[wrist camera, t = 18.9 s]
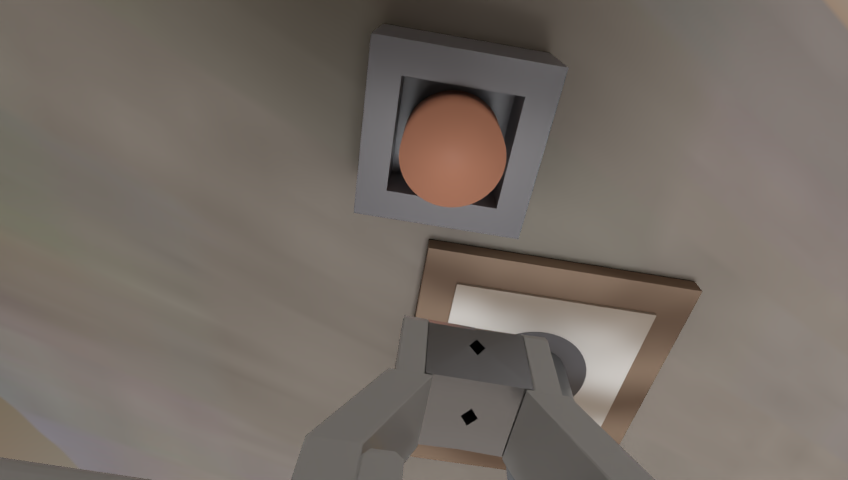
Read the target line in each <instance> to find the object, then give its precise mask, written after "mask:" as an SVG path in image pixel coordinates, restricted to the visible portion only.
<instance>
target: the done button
mask: <svg viewBox="0 0 848 480" xmlns="http://www.w3.org/2000/svg"><path fill="white" fill-rule="evenodd" d="M506 155H507V154H506V146H505V142H504V138H503V135H502V132H501V129H500V126H499V123H498V121H497V118H496V116H495V114H494V112H493V111H492V109H491V108H490V107H489V106H488V105H487V104H486V103H485V102H484V101H483V100H481V99H480V98H479V97H477V96H475V95H473V94H470V93H468V92H464V91H458V90H447V91H441V92H438V93H435V94H433V95H431V96H429V97H427V98H425V99H424V100H423V101H421V102H420V103H419V104H418V105H417V106H416V107H415V108H414V110H413V111H412V113H411V114H410V116H409V118H408V120H407V123H406V126H405V129H404V133H403V137H402V140H401V144H400V149H399V164H400V169H401V172H402V175H403V177H404V179H405V181H406V183H407V184H408V186H409V187H410V188H411V190H412V191H413V192H414V193H415V194H417V195H418V196H419V197H420V198H422V199H423V200H425V201H427V202H429V203H432V204H434V205H438V206H442V207H462V206H466V205H470V204H472V203H475V202H477V201H479V200H481V199H482V198H484V197H485V196H487V195H488V194H489V193H490V192H491V191H492V190H493V189H494V188H495V187H496V185H497V184H498V182H499V181H500V179H501V177H502V175H503V172H504V169H505V165H506Z"/></svg>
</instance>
